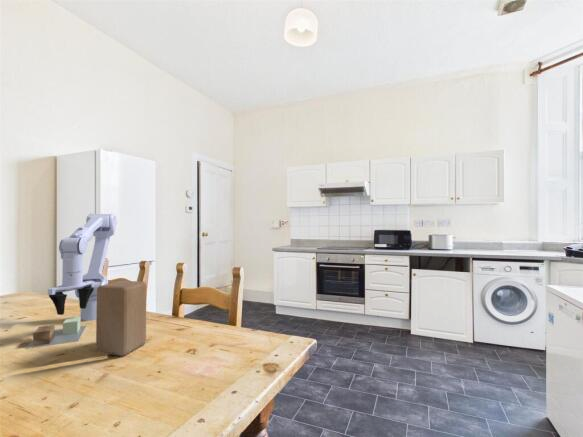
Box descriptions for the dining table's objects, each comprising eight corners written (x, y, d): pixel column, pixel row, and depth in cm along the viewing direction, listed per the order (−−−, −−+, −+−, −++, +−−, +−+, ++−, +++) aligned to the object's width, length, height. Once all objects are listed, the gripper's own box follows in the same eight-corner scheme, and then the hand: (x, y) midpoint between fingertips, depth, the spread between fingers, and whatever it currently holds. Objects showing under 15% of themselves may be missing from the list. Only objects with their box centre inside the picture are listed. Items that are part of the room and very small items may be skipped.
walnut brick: (54, 337, 97) (54, 324, 97) (49, 343, 92) (49, 330, 92) (38, 339, 95) (39, 326, 95) (33, 346, 90) (33, 332, 90)
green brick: (80, 327, 106) (80, 316, 106) (77, 333, 101) (77, 321, 101) (66, 329, 104) (66, 318, 104) (62, 335, 99) (62, 323, 99)
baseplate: (86, 328, 108) (86, 325, 108) (78, 344, 94) (78, 340, 94) (40, 335, 102) (40, 331, 102) (24, 352, 88) (24, 348, 88)
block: (123, 357, 85) (124, 287, 85) (94, 354, 87) (95, 286, 87) (147, 343, 95) (147, 281, 95) (120, 341, 97) (121, 280, 97)
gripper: (84, 268, 111) (84, 304, 111) (41, 274, 97) (40, 316, 97) (98, 269, 109) (98, 306, 109) (56, 275, 95) (56, 318, 95)
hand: (72, 311), depth 103 cm, fingers open, 7 cm apart
